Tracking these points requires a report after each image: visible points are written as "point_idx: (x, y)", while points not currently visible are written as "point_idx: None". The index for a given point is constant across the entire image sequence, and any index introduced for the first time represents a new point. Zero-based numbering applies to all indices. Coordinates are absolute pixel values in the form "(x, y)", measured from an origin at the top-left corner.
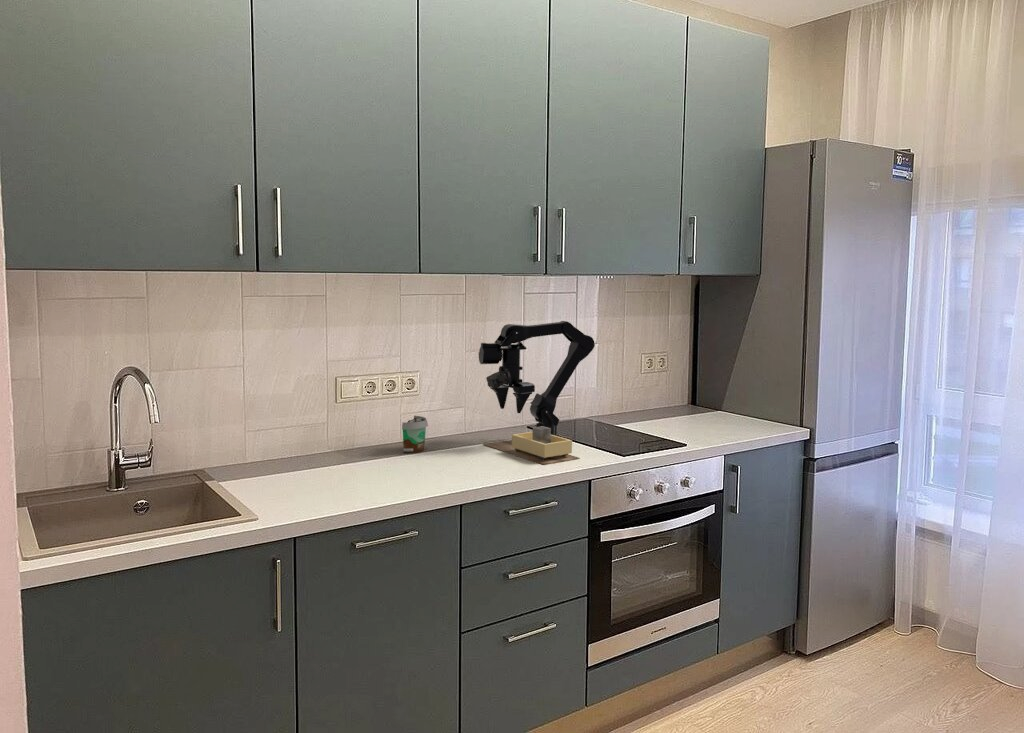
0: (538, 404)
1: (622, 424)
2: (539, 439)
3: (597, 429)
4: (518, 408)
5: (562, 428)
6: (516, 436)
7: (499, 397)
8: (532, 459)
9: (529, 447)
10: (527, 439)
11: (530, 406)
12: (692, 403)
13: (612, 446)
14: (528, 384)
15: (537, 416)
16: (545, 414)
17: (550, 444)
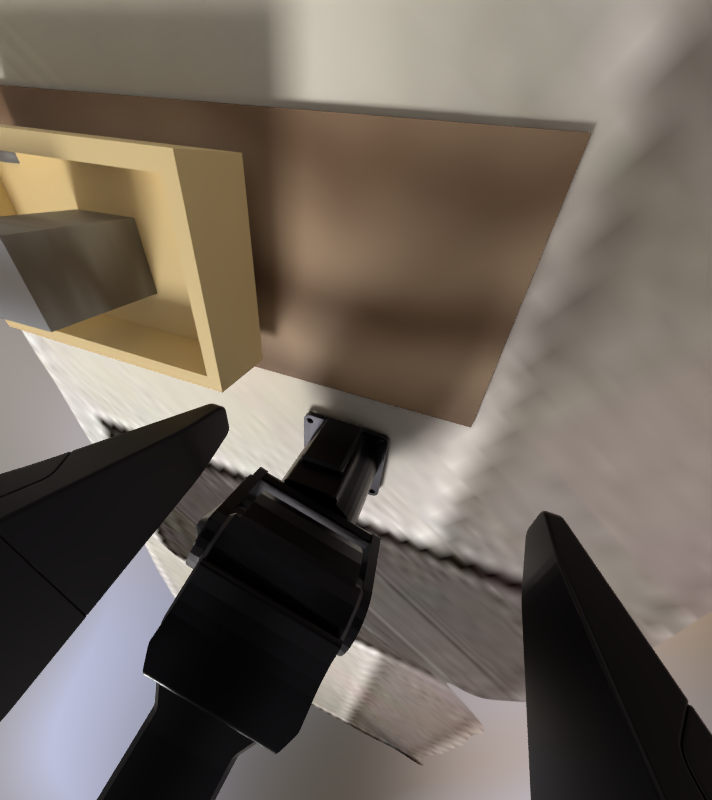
0: (192, 582)
1: (374, 659)
2: (27, 216)
3: (374, 619)
4: (154, 428)
5: (459, 617)
6: (121, 141)
7: (623, 725)
8: (58, 104)
9: (51, 131)
10: (11, 129)
11: (351, 614)
12: (411, 759)
13: (202, 491)
14: None
15: (254, 501)
16: (206, 516)
17: None
